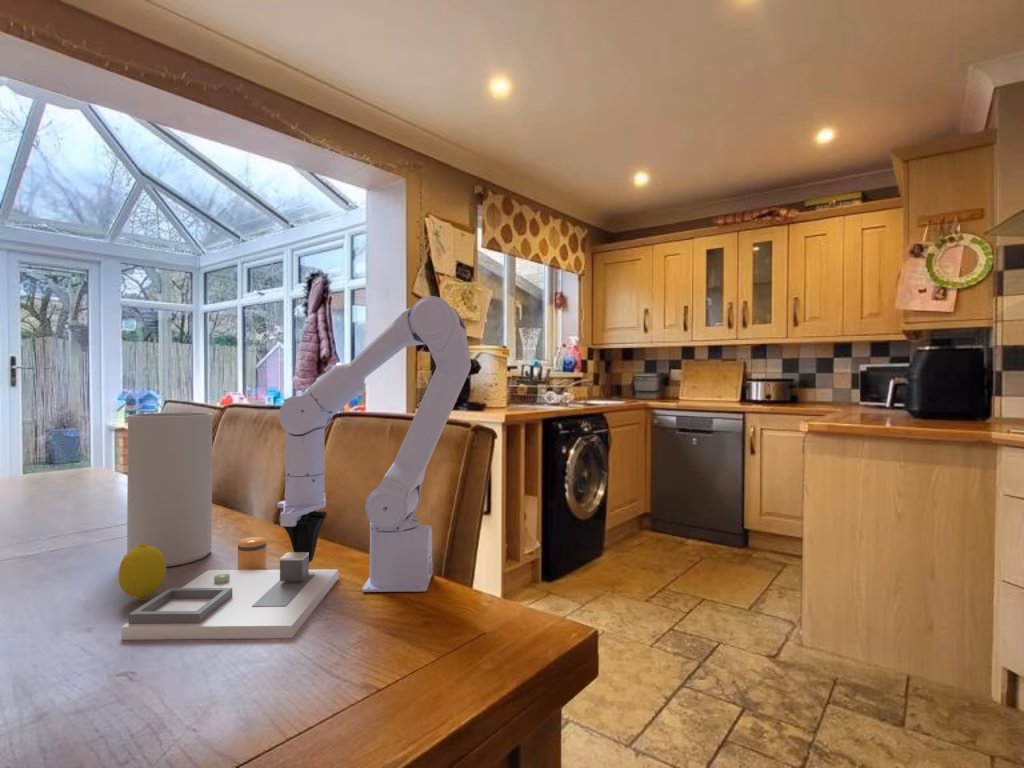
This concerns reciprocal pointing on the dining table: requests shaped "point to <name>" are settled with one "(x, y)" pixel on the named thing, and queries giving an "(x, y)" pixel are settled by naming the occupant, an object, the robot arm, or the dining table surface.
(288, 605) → the board
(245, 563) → the cap
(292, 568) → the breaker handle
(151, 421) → the cylinder vase
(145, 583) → the lemon
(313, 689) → the dining table surface
